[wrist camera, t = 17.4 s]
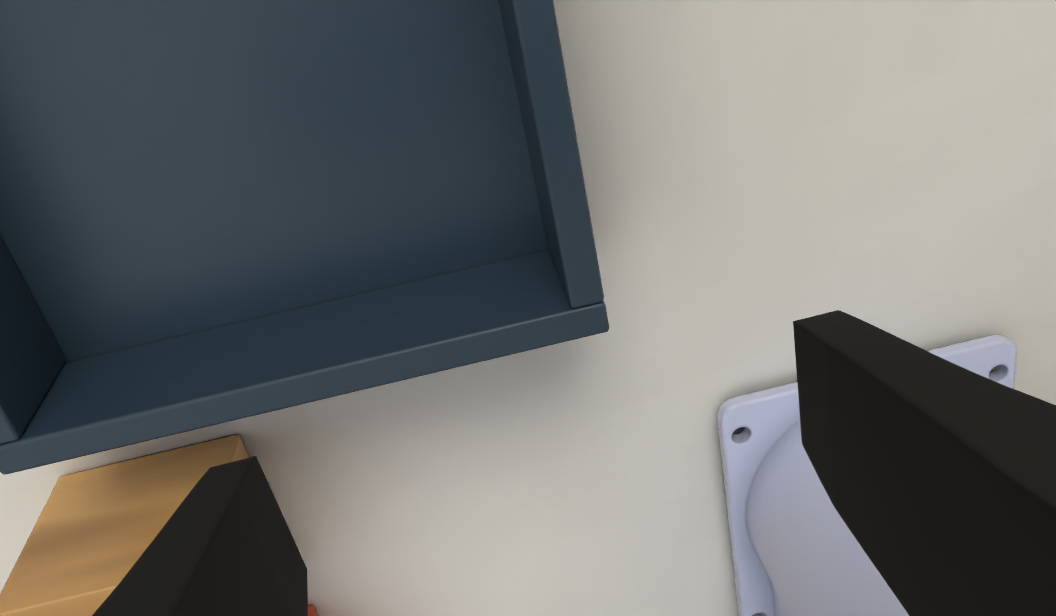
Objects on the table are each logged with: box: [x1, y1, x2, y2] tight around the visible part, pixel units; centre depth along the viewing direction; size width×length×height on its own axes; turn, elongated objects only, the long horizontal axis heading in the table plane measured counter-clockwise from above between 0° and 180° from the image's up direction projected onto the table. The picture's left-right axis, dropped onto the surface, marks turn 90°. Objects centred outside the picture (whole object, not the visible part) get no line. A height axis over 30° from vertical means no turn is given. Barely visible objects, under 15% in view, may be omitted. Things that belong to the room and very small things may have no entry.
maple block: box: [0, 434, 249, 616], centre depth 21 cm, size 4×4×4 cm
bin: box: [0, 0, 609, 474], centre depth 16 cm, size 14×12×4 cm
